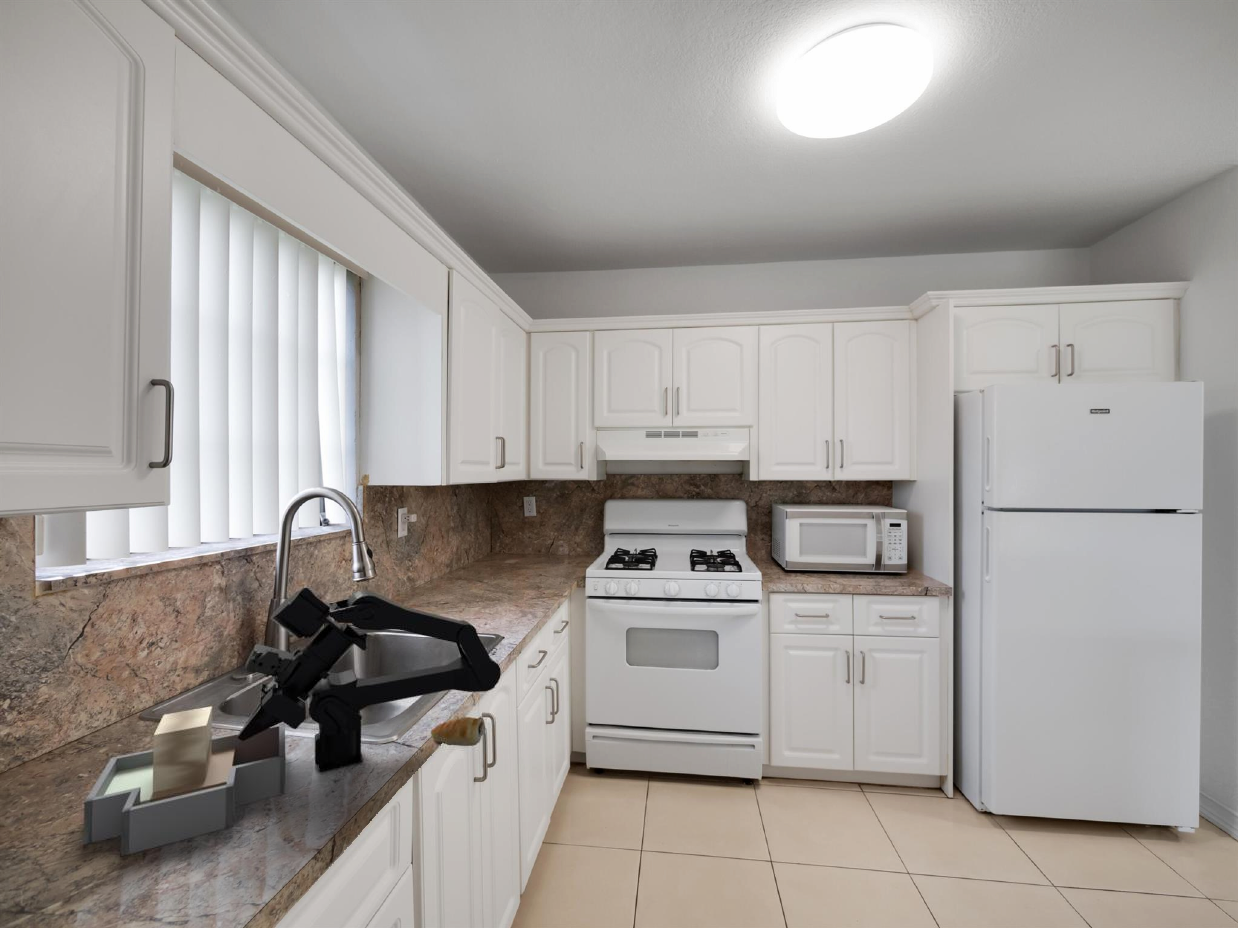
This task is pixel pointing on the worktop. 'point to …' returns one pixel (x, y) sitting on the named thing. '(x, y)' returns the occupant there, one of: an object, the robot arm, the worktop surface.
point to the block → (182, 748)
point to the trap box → (183, 793)
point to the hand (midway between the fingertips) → (240, 738)
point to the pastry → (460, 731)
